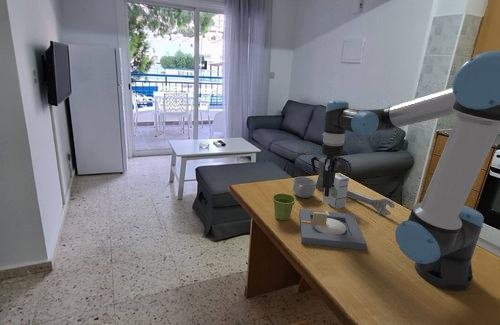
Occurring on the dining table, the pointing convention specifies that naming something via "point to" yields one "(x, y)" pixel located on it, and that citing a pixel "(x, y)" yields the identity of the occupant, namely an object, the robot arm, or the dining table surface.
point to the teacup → (304, 187)
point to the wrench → (373, 202)
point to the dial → (327, 224)
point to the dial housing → (347, 240)
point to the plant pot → (283, 205)
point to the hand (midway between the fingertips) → (326, 202)
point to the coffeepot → (320, 171)
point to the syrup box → (339, 191)
